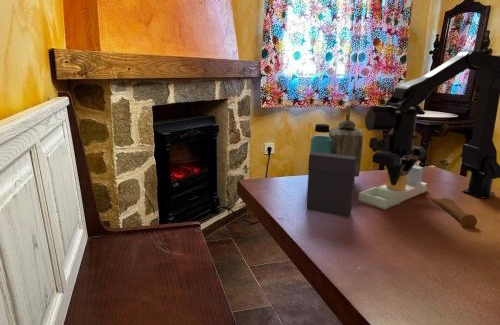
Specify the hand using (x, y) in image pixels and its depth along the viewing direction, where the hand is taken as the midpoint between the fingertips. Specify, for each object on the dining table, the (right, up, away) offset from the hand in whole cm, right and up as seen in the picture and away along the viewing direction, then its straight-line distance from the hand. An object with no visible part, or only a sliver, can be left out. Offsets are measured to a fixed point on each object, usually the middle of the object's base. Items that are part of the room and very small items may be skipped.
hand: (396, 183), depth 102 cm
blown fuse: (0, -3, +1) cm, 4 cm away
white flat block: (+3, -3, +4) cm, 6 cm away
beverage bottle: (-22, -2, +5) cm, 22 cm away
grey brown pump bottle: (-13, -1, +12) cm, 18 cm away
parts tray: (-6, -5, -4) cm, 9 cm away
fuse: (+7, -2, +6) cm, 10 cm away
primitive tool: (+10, -7, -9) cm, 16 cm away
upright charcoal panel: (-22, -7, -11) cm, 26 cm away
